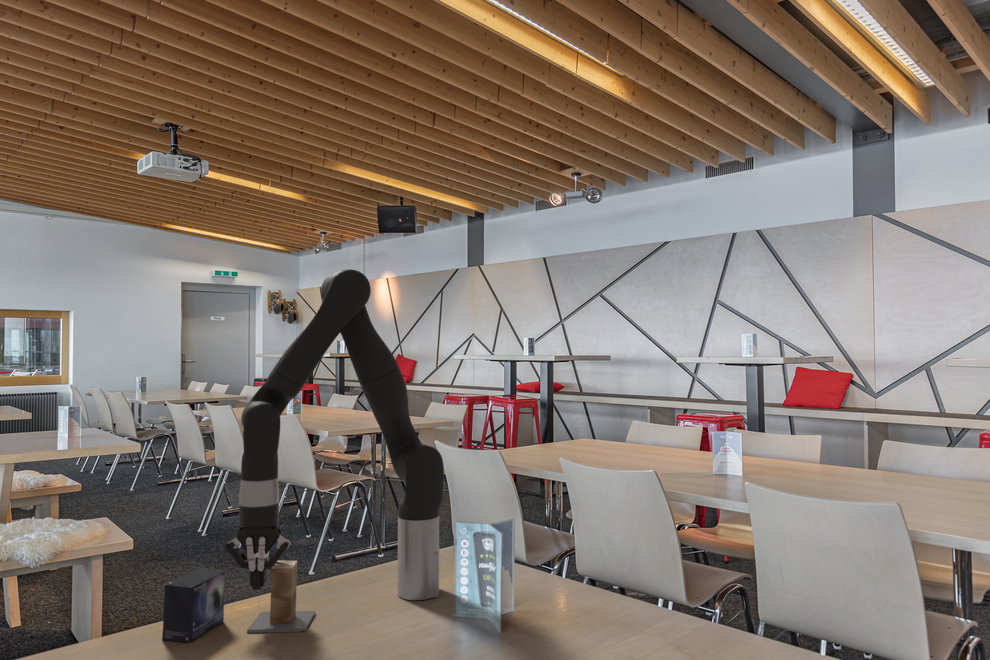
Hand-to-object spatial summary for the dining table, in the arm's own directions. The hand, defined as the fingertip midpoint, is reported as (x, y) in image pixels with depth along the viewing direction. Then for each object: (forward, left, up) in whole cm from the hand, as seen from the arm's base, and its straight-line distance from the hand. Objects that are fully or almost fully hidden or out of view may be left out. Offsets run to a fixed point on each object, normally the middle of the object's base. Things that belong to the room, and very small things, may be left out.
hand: (257, 588), depth 132 cm
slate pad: (-5, 0, -7) cm, 8 cm away
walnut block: (-5, 0, -6) cm, 8 cm away
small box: (+11, +3, -7) cm, 13 cm away
